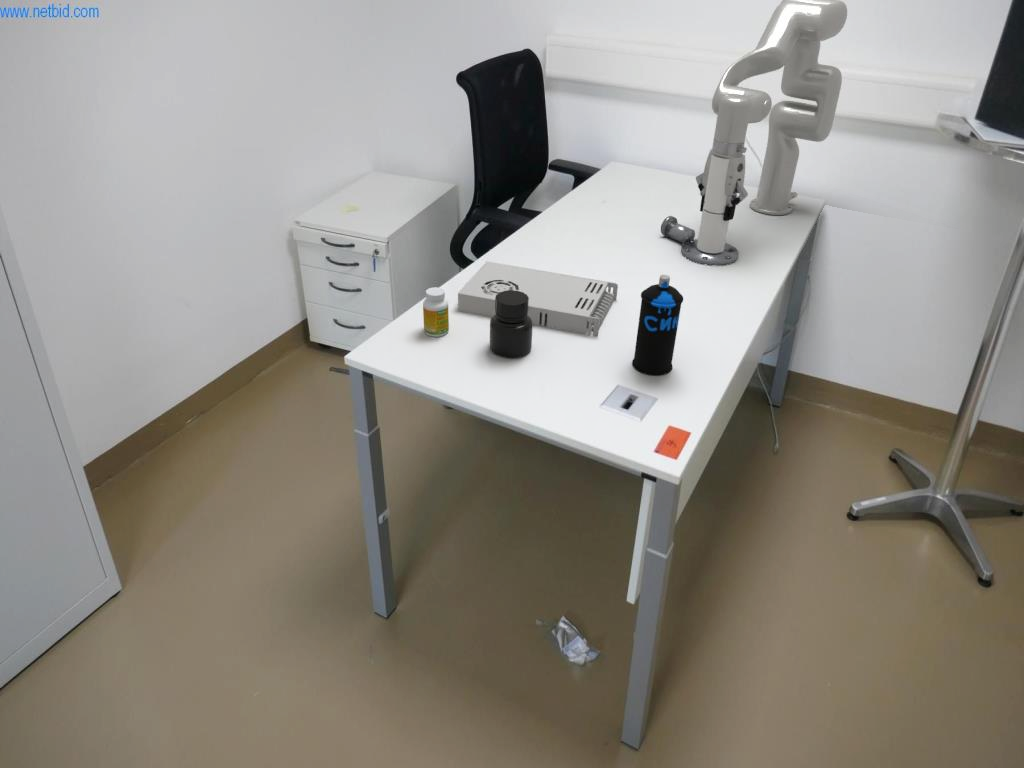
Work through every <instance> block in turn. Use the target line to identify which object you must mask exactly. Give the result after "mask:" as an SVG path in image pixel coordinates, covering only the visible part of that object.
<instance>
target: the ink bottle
mask: <svg viewBox="0 0 1024 768" xmlns="http://www.w3.org/2000/svg"><path fill="white" fill-rule="evenodd" d="M528 303H529V297H528V296H527V294H525V293H523V292H520V291H514V290H509V291H503V292H499V293H498V294H497V295H496V297H495V315H494V316H493V317H491V318H490V321H489V349H490V351H491V352H492V353H493V354H494V355H496V356H499V357H502V358H508V359H509V358H510V359H512V358H513V359H516V358H521V357H524V356H526V355H528V354H529V353H530V352H531V350H532V343H533V342H532V341H533V324H532V320H531V318H530V317H529V316H528Z"/></svg>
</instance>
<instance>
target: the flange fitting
mask: <svg viewBox="0 0 1024 768" xmlns="http://www.w3.org/2000/svg"><path fill="white" fill-rule="evenodd" d="M660 233H661V235H663V236H664V237H667V238H670V239H672V240H675V241H676V242H679V243H680V244H682V245H681V248H680V254H681V253H682V254H681V255H682V256H683V257H684V258H685V257H686V258H685V259H687V260H688V259H689V260H688V261H690V260H691V262H693V261H694V262H693V263H696V262H697V264H699V263H700V264H699V265H704V264H707V265H706V266H712V265H721V266H727V265H726V264H728V265H731V264H730V263H732V264H734V263H735V262H736V261H738V259H739V250H738V249H737V247H735V246H733V245H732V244H729V243H727V242H725V247H724V251H723V252H720V253H706V252H703V251H700V250H699V249H698V248H697V242H698V238H696V239H695V237H696V231H695V229H692V228H690V227H687V226H685V225H683V224H681V223H678V219H677V218H676V217H675V216H672V215H669V216H667V217H665V218H664V220H663V221H662V223H661V225H660ZM733 262H734V263H733Z"/></svg>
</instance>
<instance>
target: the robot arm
mask: <svg viewBox="0 0 1024 768" xmlns="http://www.w3.org/2000/svg"><path fill="white" fill-rule="evenodd" d="M847 19H848V8H847V4H846V3H845V2H844V1H842V0H781V2H780V4H778V5H777V6H776V8H775V9H774V11H773V12H772V15H771V17H770V19H769V21H768V23H767V25H766V26H765V29H764V31H763V33H762V35H761V37H760V39H759V41H758V43H757V46H755V48H754V49H753V50H752V51H750V52H748V53H746V54H744V55H742V57H739V58H738V59H736V60H735V62H733V63H732V64H731V65H730V66H729V67H728V68H727V69H726V70H725V72H724V73H723V75H722V77H721V79H720V81H719V83H718V85H717V86H716V88H715V91H714V94H713V97H712V100H711V109H712V110H713V113H714V114H715V115H716V116H717V117H716V121H715V122H716V124H715V129H714V134H713V141H712V147H711V149H709V152H708V155H707V159H706V161H705V164H704V169H703V172H702V173H700V174H698V175H696V176H695V181H696V183H697V188H698V190H699V195H700V197H701V201H700V207H699V212H701V213H702V211H703V205H704V199H705V193H706V187H707V181H708V175H709V169H710V163H711V156H712V154H715V155H717V156H720V157H723V158H727V159H730V160H729V164H728V169H727V174H726V180H725V195H726V196H727V203H728V206H726V207H725V212H724V218H723V220H724V221H728V220H729V221H731V220H733V219H734V217H735V212H736V206H738V205H739V204H740V203H742V202H743V200H745V199H746V198H747V197H748V195H749V193H748V191H747V190H746V188H745V187H744V184H745V177H746V176H745V175H746V155H745V153H746V152H747V147H745V142H746V136H747V131H748V126H749V124H755V123H761V122H762V121H763V120H765V119H766V118H767V117H768V115H769V117H768V137H767V143H766V149H765V154H764V159H763V164H762V168H761V172H760V173H761V174H760V179H759V184H758V189H757V194H756V198H754V199H751V200H750V202H749V207H750V208H751V209H752V210H753V211H755V212H758V213H760V214H765V215H770V216H771V215H772V216H785V215H788V214H791V213H792V211H793V205H792V204H791V203H790V201H791V200H793V199H796V198H797V197H798V193H797V192H796V191H792V188H793V184H794V180H795V179H794V178H795V176H796V175H795V174H796V170H797V167H798V166H797V165H798V161H799V159H800V158H799V157H800V147H799V145H798V142H797V140H796V139H799V140H805V141H811V142H816V143H820V142H824V141H825V140H826V139H828V137H829V136H830V133H831V130H832V127H833V124H834V119H835V116H836V110H837V106H838V102H839V98H840V92H841V89H842V88H841V87H842V82H843V77H842V72H841V70H840V69H839V68H838V67H836V66H832V65H827V64H821V63H819V62H818V61H819V55H820V50H821V42H824V41H826V40H829V39H831V38H833V37H836V36H837V35H838V34H839V33H840V32H841V31H842V29H843V28H844V27H845V24H846V22H847ZM782 68H783V70H782V75H781V84H780V90H781V93H782V94H783V95H785V96H787V97H790V98H794V99H801V100H804V101H805V100H807V101H811V102H816V105H815V104H810V103H807V102H806V103H805V102H800V101H795V100H781V101H779V102H777V103H775V104H774V105H772V104H773V102H772V98H771V96H770V95H769V93H767V92H765V91H762V90H758V89H752V88H747V87H742V86H738V85H739V84H740V83H742V82H743V81H745V80H748V79H749V78H752V77H755V76H759V75H765V74H768V73H772V72H774V71H775V72H776V71H778V70H780V69H782ZM733 191H734V193H733ZM791 191H792V192H791ZM738 194H739V195H738ZM732 195H733V200H732V197H731V196H732Z"/></svg>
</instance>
